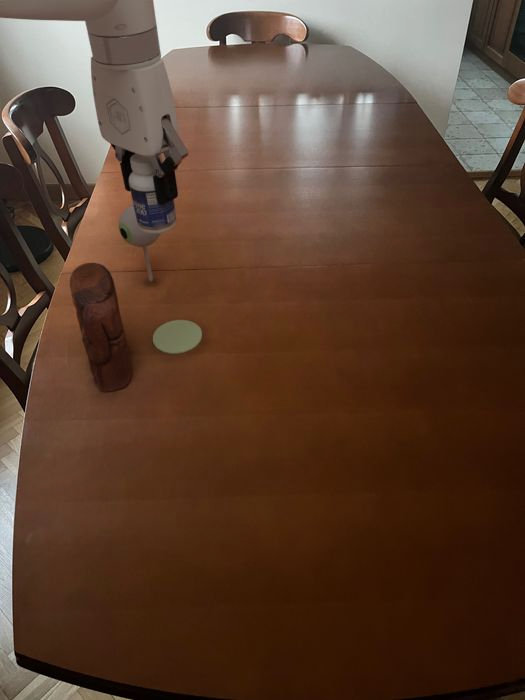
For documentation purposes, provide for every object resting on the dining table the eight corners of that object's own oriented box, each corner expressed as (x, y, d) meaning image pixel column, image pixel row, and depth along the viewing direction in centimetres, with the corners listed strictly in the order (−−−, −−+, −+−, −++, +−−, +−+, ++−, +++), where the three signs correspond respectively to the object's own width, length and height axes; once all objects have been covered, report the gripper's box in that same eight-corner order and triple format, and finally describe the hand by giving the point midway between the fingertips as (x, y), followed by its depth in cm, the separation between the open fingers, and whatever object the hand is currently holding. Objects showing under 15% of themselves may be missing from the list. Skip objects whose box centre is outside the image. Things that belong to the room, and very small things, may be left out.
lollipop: (123, 281, 107) (105, 208, 97) (153, 264, 111) (139, 191, 101) (148, 297, 104) (132, 222, 94) (178, 278, 108) (166, 205, 97)
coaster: (177, 361, 92) (176, 359, 92) (142, 340, 96) (142, 338, 95) (212, 334, 96) (212, 332, 96) (177, 314, 100) (177, 313, 100)
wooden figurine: (90, 346, 95) (60, 252, 83) (129, 338, 96) (106, 244, 84) (95, 398, 87) (62, 302, 74) (138, 389, 88) (113, 293, 75)
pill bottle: (132, 221, 82) (118, 154, 75) (169, 210, 84) (158, 144, 77) (145, 239, 78) (131, 170, 72) (183, 228, 80) (173, 160, 74)
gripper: (51, 41, 68) (88, 186, 80) (152, 69, 59) (176, 226, 72) (102, 25, 72) (130, 166, 84) (204, 49, 63) (218, 201, 76)
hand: (151, 192), depth 78 cm, fingers closed on pill bottle, 5 cm apart
